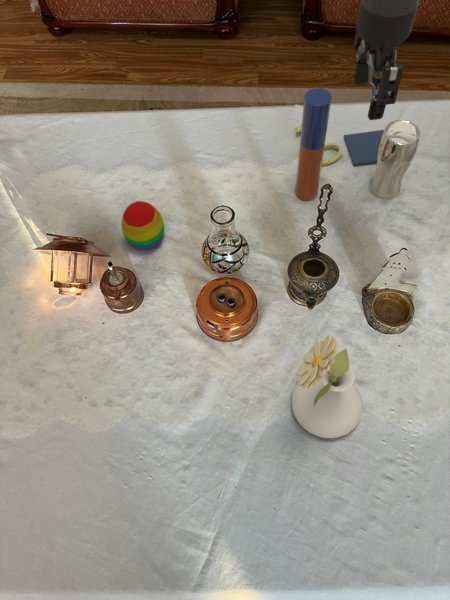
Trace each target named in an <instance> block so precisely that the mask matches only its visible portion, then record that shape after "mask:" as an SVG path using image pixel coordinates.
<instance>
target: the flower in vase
mask: <svg viewBox="0 0 450 600" xmlns="http://www.w3.org/2000/svg"><path fill="white" fill-rule="evenodd" d="M313 345H314V346H312V347H311V348H310V349H309V352H306V353H305V354H304V355H303V357H302V360H303V362H302V363H301V364H300V366H299V368H300V369H299V370H297V371H296V374H295V375H296V376H297V377H299V376H300V377H299V379H298V380H297V382H296V385H295V387H294V389H293V391H292V394H291V395H292V396H291V408H292V412H293V415H294V417H295V419H296V421H297V423H299V425H300V426H301V427H302V428H304V429H305V430H306V431H307V432H308V433H310V434H312V435H313V436H316V437H318V438H319V437H320V438H323V439H337V438H340V437H343V436H345V435H348V434H349V433H350V432H351V433H352V431H353V430H354V429H355V428H356V427H357V426H358V424H359V423H360V421H361V419H362V416H363V411H364V403H363V399H362V395H361V393H360V391H359V389H358V387H357V386H356V385H355V384H354V383H355V379H356V374H355V370H354V368H353V367H352V366H351V364H350V359H349V354H348V350H347V348H344V349H343V350H341V351H339V352H338V350H337V349H338V347H339V343H338V338H337V337H334V336H332V334H327V335H326V336H325V338H324V339H323V340H319V339H318V340H316V341H315V342H314V344H313Z"/></svg>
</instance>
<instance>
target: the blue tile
mask: <svg viewBox="0 0 450 600" xmlns="http://www.w3.org/2000/svg"><path fill="white" fill-rule="evenodd" d="M383 132H384V129H381V130H379V129H378V130H372V131H371V130H370V131H364V132H363V131H362V132H355V133H349V134H344V135H343V140H344V143H345V145H346V149H347V151H348V154H349V157H350V160H351V163H352V166H353V167H360V166H369V165H377V151H378V147H379V143H380V140H381V137H382V135H383Z"/></svg>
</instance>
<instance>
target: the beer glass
mask: <svg viewBox="0 0 450 600" xmlns="http://www.w3.org/2000/svg"><path fill="white" fill-rule="evenodd" d="M383 130H384V132H383V135H382V137H381V140H380V143H379V147H378V151H377V163H376V166H375V167H376V168H375V174H374V177H373V178H372V180H371V181H370V185H369V186H370V187H369V189H370V192H371V193H372V194H373V195H374V196H376V197H377V198H380V199H383V200H389V199H394V198H395V197H397V196H398V195H399V194H400V192H401V186H402V180H403V178H404V176H405V174H406V172H407V171H408V169H409V168H410V166H411V164H412V162H413V160H414V159H415V156H416V153H417V151H418V147H419V142H420V138H421V130H420V128H419V127H418V126H417V124H415V123H414V122H411V121H409V120H406V119H396V120H392V121H390V122H389V123H387V124H386V125H385V127H384V128H383Z"/></svg>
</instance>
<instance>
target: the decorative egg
mask: <svg viewBox="0 0 450 600" xmlns="http://www.w3.org/2000/svg"><path fill="white" fill-rule="evenodd" d="M121 230H122V231H121V232H122V234H123V236H124V238H125V240H126V241H127V243H129V245H130V246H132V247H133V248H136V249H138V250H142V251H143V250H145V251H146V250H151V249H154V248H155V247H156V246H158V245H159V244H160V243H161V241H162V240H163V238H164V234H165V221H164V218H163V216H162V215H161V213H160V212H159V210H158V209H157V207H155V206H154V205H153V204H151V203H149V202H146V201H142V200H140V201H134V202H132V203H130V204H129V205H128V206H127V207H126V208H125V210H124V211H123V214H122V217H121Z"/></svg>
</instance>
